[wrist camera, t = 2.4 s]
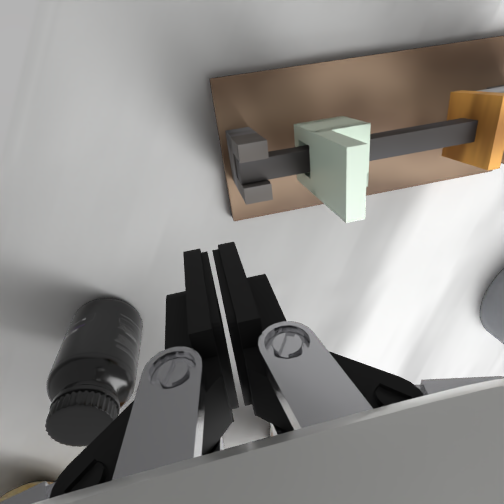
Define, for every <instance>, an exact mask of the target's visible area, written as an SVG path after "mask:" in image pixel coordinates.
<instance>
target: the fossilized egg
mask: <svg viewBox="0 0 504 504" xmlns="http://www.w3.org/2000/svg"><path fill="white" fill-rule="evenodd" d="M42 482H44V481H40V482H32V483H28V484H25V485H22V486H20V487H18V488H16V489H13V490H12V491H10V492H8V493H6V494H5V495H3V496H2V497H1V498H0V502H2V501H4V500H6V499H8V498H10V497H12V496H14V495H17V494H19V493H21V492H23V491H25V490H27V489H29V488H31V487H33V486H35V485H37V484H39V483H42ZM46 482H47V483H48V484H49V485H50V484H52V483H54V482H48V481H46Z"/></svg>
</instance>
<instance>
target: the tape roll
mask: <svg viewBox="0 0 504 504" xmlns="http://www.w3.org/2000/svg"><path fill="white" fill-rule="evenodd" d="M480 318H481V322H482V324H483V326H484V328H485V329H486V330H487V331H488V332H489V333H491V334H492V335H493V336H494V337H495V338H497V339H498V340H499V341H501V342H502V343H503V344H504V269H503V270H502V271H501V272H500V273H499V274H498V275H497V276H496V277H495V279H494V280H493V281H492V283H491V284H490V286H489V288H488V289H487V291H486V293H485V295H484V298H483V300H482V304H481V308H480Z"/></svg>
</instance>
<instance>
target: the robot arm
mask: <svg viewBox="0 0 504 504" xmlns="http://www.w3.org/2000/svg"><path fill="white" fill-rule="evenodd" d="M212 251H213V256H214V261H215V265H216V270H217V275H218V280H219V285H220V290H221V295H222V299H223V304H224V309H225V314H226V319H227V324H228V328H229V333H230V338H231V342H232V347H233V352H234V356H235V361H236V366H237V371H238V375H239V380H240V385H241V389H242V394H243V399H244V403H245V406H246V405H250V404H252V405H253V409H254V414H255V416H258V417H260V418H262V419H264V420H266V421H268V422H270V425H271V428H270V437H268V438H264V439H261V440H257V441H253V442H250V443H246V444H242V445H239V446H235V447H231V448H228V449H224V440H223V434H224V433H225V431H226V430H227V428H228V427H229V426H230V424H231V423H232V422H234V419H233V414H232V409H235V408H238V407H239V405H238V400H237V395H236V390H235V384H234V379H233V374H232V369H231V364H230V359H229V354H228V348H227V343H226V338H225V333H224V328H223V323H222V318H221V313H220V308H219V304H218V299H217V295H216V290H215V285H214V281H213V276H212V271H211V267H210V262H209V257H208V253H207V252H202V253H201V251H200V249H196V250H191V251H186V252H184V270H185V287H186V291H184V292H179V293H175V294H170V295H167V297H166V326H165V350H164V351H162V352H159V353H158V354H157V355H155V356H154V357H153V358H151V359H150V361H149V362H148V363H147V364H146V365H145V368H144V370H143V372H142V375H141V379H140V382H139V386H138V389H137V393H136V396H135V400H134V401H133V402H132V403H131V404H130V405H129V406H128V407H127V408H126V409H125V410H124V411H123V412H122V413H121V414H120V415H119V416H118V417H117V418H116V419H115V420H114V421H113V422H112V423H111V424H110V425H109V426H108V427H106V428H105V429H104V430H103V431H102V432H101V433H100V434H99V435H98V436H97V437H96V438H95V439H94V440H93V441H92V442H91V443H90V444H89V445H88V446H87V447H86V448H85V449H84V450H83V451H82V452H81V453H80V454H79V455H78V456H77V457H76V458H75V459H74V460H73V461H72V462H71V463H70V464H69V465H68V466H67V467H66V468H65V470H64V471H63V472H62V473H61V474H60V476H59V477H58V479H57V481H56V482H54V483H52V484H50V485H49V484H48V483H47V482H46V481H44V482H42V483H39V484H37V485H35V486H33V487H31V488H29V489H27V490H25V491H23V492H21V493H19V494H17V495H14V496H12V497H10V498H8V499H6V500H4V501H2V502H0V504H504V377H502V376H494V377H472V378H451V379H429V380H421V385H414V384H412V383H411V382H409V381H407V380H405V379H403V378H401V377H399V376H396V375H393V374H390V373H387V372H385V371H382V370H379V369H376V368H374V367H371V366H368V365H365V364H363V363H360V362H357V361H354V360H351V359H349V358H346V357H343V356H340V355H338V354H335V353H332V352H329V351H328V350H327V349H326V348H325V346H324V345H323V344H322V342H321V341H320V340H319V339H318V337H317V336H316V335H315V333H314V332H313V331H312V330H311V329H310V328H309V327H307V326H305V325H303V324H301V323H298V322H293V321H286V319H285V317H284V314H283V312H282V310H281V308H280V305H279V303H278V301H277V299H276V296H275V294H274V292H273V290H272V287H271V285H270V283H269V281H268V278H267V276H266V275H265V274H262V275H258V276H253V277H249V278H246V275H245V272H244V269H243V266H242V263H241V260H240V258H239V255H238V252H237V249H236V246H235V243H234V242H230V243H225V244H220V245H218V249H217V250H212Z"/></svg>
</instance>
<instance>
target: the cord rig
mask: <svg viewBox="0 0 504 504" xmlns="http://www.w3.org/2000/svg"><path fill="white" fill-rule="evenodd" d="M210 85H211V91H212V97H213V103H214V109H215V115H216V121H217V127H218V133H219V139H220V145H221V151H222V157H223V164H224V170H225V176H226V182H227V188H228V194H229V200H230V206H231V212H232V218H233V220H234V221H238V220H243V219H249V218H254V217H259V216H264V215H269V214H274V213H279V212H284V211H290V210H295V209H300V208H305V207H310V206H315V205H320V204H324V203H323V202H322V201H321V200H319V199H318V198H317V197H316V196H315V195H314V194H313V193H312V192H310V191H309V190H308V189H307V188H306V187H305V186H304V185H302V184H301V183H300V182H299V181H298V180H297V174H302V173H308V172H310V153H309V145H304V146H298V147H295V138H294V124H298V123H304V122H310V121H316V120H322V119H328V118H334V117H340V116H345V117H349V118H352V119H356V120H360V121H364V122H368V123H371V128H370V152H369V176H368V187H366V196H367V195H372V194H377V193H382V192H387V191H392V190H397V189H402V188H408V187H413V186H418V185H423V184H428V183H433V182H438V181H444V180H449V179H454V178H459V177H464V176H469V175H474V174H479V173H485V172H490V171H492V170H493V169H498V168H500V164H501V163H503V164H504V36H498V37H491V38H484V39H477V40H470V41H464V42H457V43H450V44H443V45H436V46H429V47H422V48H416V49H409V50H402V51H395V52H388V53H381V54H375V55H368V56H361V57H354V58H347V59H340V60H334V61H327V62H320V63H313V64H306V65H299V66H293V67H286V68H279V69H272V70H265V71H258V72H252V73H245V74H238V75H231V76H224V77H217V78H211V79H210Z"/></svg>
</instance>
